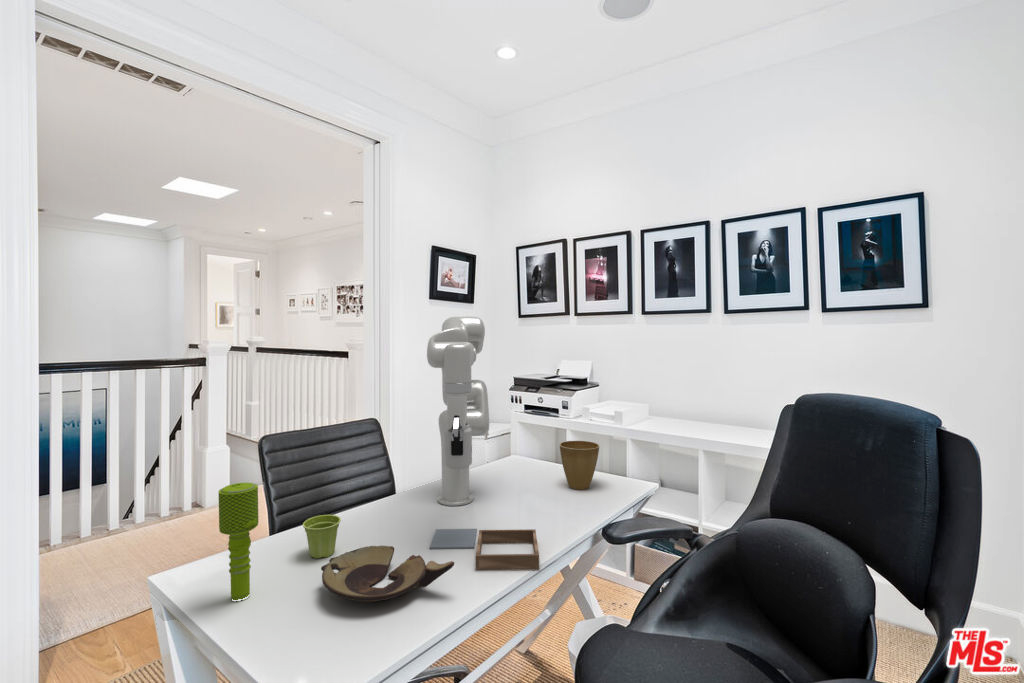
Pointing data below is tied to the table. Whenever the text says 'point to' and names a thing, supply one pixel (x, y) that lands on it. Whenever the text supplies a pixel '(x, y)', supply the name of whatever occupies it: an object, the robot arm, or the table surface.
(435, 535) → the mat
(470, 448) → the can
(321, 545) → the plant pot
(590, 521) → the table surface
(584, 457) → the plant pot
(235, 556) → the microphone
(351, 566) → the broken ceramic bowl
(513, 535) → the box frame
